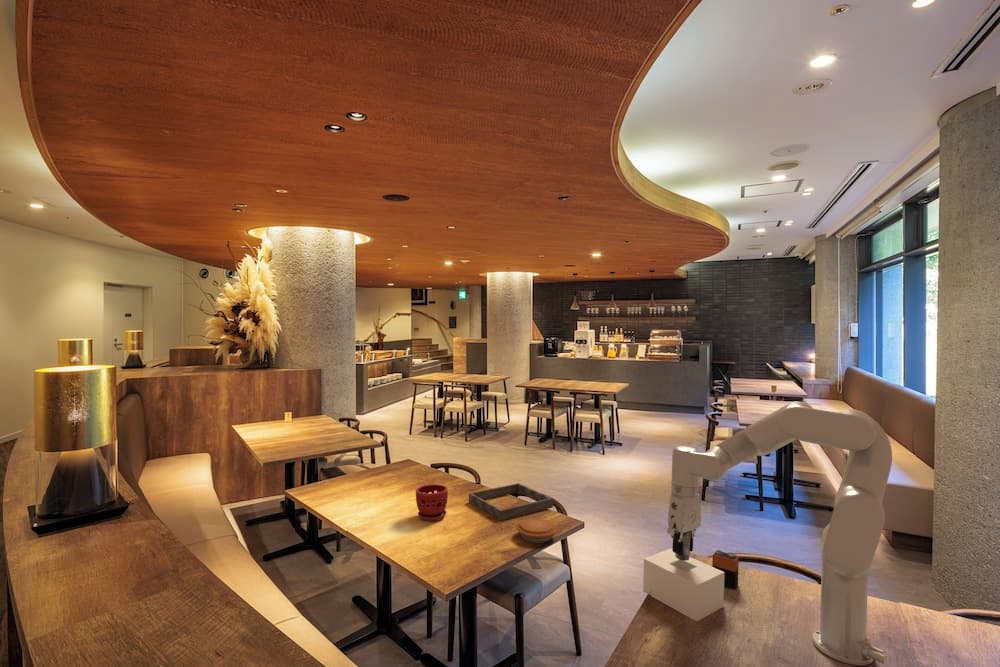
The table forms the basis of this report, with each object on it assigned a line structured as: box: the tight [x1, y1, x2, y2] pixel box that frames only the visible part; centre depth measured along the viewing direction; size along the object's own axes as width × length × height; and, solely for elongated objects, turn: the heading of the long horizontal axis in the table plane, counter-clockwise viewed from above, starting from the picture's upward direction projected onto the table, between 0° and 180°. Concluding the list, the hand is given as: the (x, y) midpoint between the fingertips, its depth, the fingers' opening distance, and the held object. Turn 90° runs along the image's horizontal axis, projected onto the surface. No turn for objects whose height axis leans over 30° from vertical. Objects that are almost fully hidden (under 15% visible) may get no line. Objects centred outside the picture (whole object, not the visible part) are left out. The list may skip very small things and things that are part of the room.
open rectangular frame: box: [468, 482, 554, 522], centre depth 219 cm, size 25×28×4 cm
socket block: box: [642, 548, 725, 622], centre depth 145 cm, size 18×13×10 cm
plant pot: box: [415, 483, 449, 522], centre depth 203 cm, size 13×13×12 cm
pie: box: [515, 518, 558, 544], centre depth 187 cm, size 15×16×5 cm
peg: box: [675, 531, 691, 561], centre depth 145 cm, size 4×4×8 cm
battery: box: [711, 549, 740, 590], centre depth 154 cm, size 4×7×10 cm, turn 52°
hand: (682, 550), depth 145 cm, fingers closed on peg, 4 cm apart
